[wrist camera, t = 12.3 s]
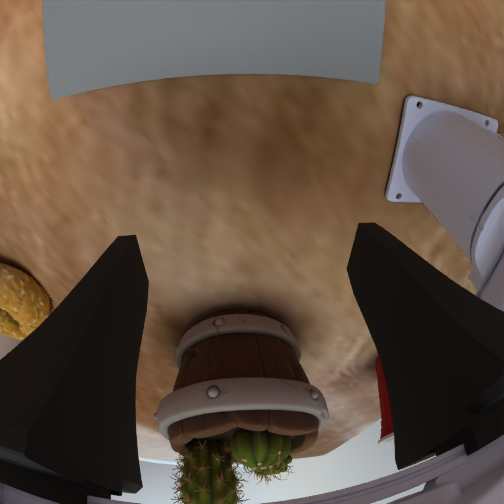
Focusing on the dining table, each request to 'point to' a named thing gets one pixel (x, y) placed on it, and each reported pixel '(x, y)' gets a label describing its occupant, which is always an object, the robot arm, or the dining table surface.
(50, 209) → the dining table surface
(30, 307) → the bagel
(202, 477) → the flowerpot
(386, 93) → the dining table surface
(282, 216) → the dining table surface
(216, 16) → the socket board
